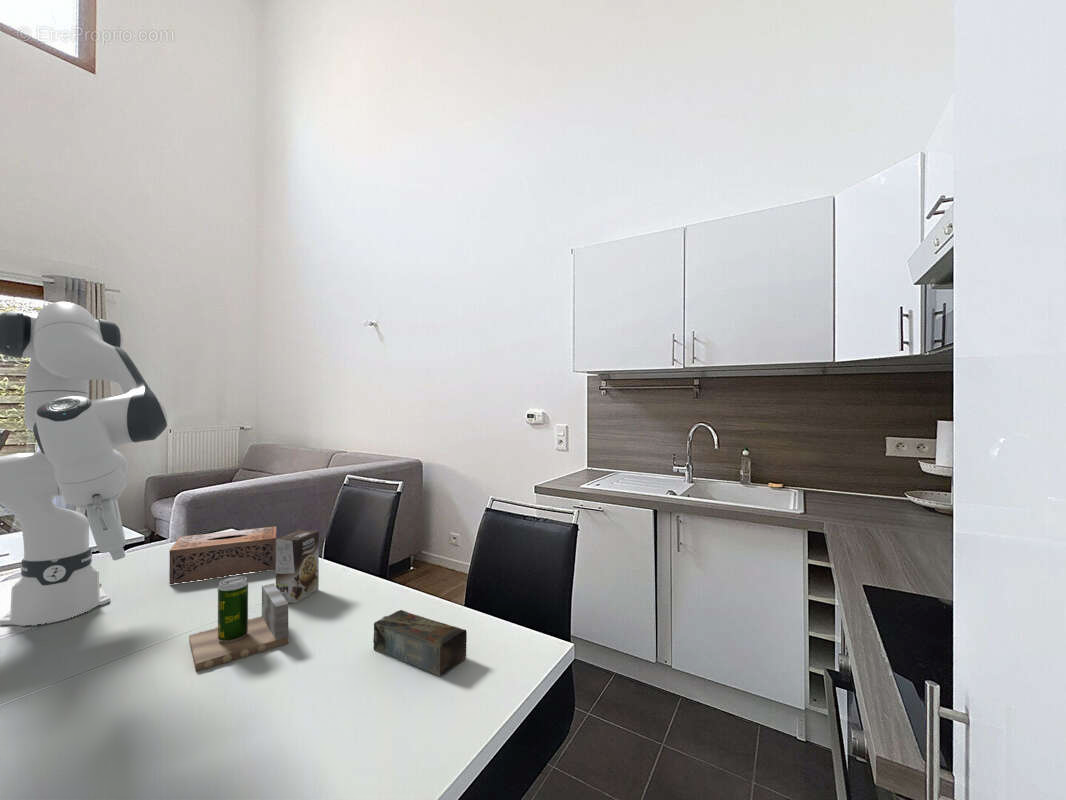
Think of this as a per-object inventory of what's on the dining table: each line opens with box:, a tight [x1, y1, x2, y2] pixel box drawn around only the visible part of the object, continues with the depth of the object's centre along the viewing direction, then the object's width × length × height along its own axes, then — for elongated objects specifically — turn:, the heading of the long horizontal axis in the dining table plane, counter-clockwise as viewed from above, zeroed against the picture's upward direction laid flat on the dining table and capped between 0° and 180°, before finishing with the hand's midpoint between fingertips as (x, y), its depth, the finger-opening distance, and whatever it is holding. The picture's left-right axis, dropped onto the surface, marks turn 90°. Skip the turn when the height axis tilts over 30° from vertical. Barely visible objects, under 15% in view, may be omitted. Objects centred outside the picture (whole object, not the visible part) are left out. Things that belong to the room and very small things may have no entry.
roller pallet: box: [188, 583, 289, 672], centre depth 100 cm, size 15×16×8 cm
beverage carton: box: [372, 609, 468, 677], centre depth 96 cm, size 8×19×7 cm, turn 59°
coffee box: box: [275, 529, 320, 604], centre depth 124 cm, size 9×6×16 cm
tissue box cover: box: [168, 526, 277, 584], centre depth 142 cm, size 26×14×10 cm, turn 118°
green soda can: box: [217, 575, 249, 643], centre depth 99 cm, size 5×5×12 cm
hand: (117, 544), depth 92 cm, fingers open, 8 cm apart
